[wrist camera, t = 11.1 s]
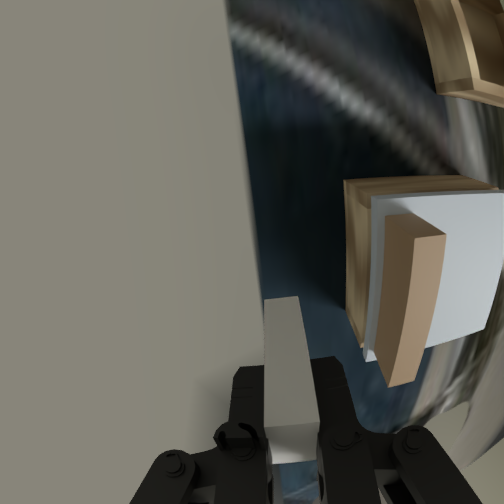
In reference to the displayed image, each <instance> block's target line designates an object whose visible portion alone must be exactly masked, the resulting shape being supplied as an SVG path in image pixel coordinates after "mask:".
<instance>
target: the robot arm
mask: <svg viewBox="0 0 504 504" xmlns="http://www.w3.org/2000/svg"><path fill="white" fill-rule="evenodd" d="M213 438H214V440H215V442H216V444H217V447H215V448H213V449H211V450H208V451H204V452H200V453H195V454H191V455H189V454H188V453H186V452H184V451H182V450H169V451H165V452H164V453H162V454H160V455H159V456H158V457H157V458H156V459H155V461H154V463H153V464H152V466H151V468H150V469H149V471H148V473H147V475H146V477H145V478H144V480H143V481H142V483H141V485H140V487H139V488H138V490H137V492H136V493H135V495H134V497H133V499H132V500H131V502H130V504H274V478H273V474H272V463H273V464H277V463H290V462H300V461H309V460H317V465H318V473H317V480H316V481H318V487H319V498H320V504H381V500H380V496H379V490H378V488H379V489H380V491H381V493H382V495H383V497H384V498H385V500H386V502H387V504H482V502H481V501H480V499H479V498H478V496H477V495H476V494H475V493H474V491H473V489H472V488H471V487H470V485H469V484H468V482H467V481H466V480H465V478H464V477H463V475H462V474H461V472H460V471H459V470H458V468H457V467H456V466H455V464H454V463H453V461H452V460H451V459H450V457H449V456H448V455H447V453H446V452H445V451H444V449H443V448H442V447H441V445H440V444H439V442H438V441H437V440H436V438H435V437H434V436H433V434H432V433H431V432H430V431H429V430H428V429H426V428H425V427H422V426H419V425H411V426H408V427H405V428H403V429H402V430H400V431H399V432H398V433H397V434H384V433H374V432H371V431H368V430H366V429H365V428H364V427H362V426H361V424H360V423H359V422H358V419H357V417H356V413H355V409H354V405H353V401H352V398H351V394H350V390H349V387H348V383H347V379H346V377H345V372H344V369H343V365H342V364H341V363H340V362H339V361H338V360H337V359H336V358H335V356H331V357H324V358H317V359H310V358H309V353H308V347H307V341H306V336H305V331H304V325H303V320H302V315H301V310H300V304H299V299H298V296H294V297H285V298H277V299H267V300H264V365H260V366H246V367H240V368H239V369H238V371H237V372H236V374H235V375H234V377H233V385H232V394H231V404H230V411H229V420H228V422H226V423H224V424H222V425H221V426H220V427H219V428H218V429H217V430H216V432H215V434H214V437H213Z"/></svg>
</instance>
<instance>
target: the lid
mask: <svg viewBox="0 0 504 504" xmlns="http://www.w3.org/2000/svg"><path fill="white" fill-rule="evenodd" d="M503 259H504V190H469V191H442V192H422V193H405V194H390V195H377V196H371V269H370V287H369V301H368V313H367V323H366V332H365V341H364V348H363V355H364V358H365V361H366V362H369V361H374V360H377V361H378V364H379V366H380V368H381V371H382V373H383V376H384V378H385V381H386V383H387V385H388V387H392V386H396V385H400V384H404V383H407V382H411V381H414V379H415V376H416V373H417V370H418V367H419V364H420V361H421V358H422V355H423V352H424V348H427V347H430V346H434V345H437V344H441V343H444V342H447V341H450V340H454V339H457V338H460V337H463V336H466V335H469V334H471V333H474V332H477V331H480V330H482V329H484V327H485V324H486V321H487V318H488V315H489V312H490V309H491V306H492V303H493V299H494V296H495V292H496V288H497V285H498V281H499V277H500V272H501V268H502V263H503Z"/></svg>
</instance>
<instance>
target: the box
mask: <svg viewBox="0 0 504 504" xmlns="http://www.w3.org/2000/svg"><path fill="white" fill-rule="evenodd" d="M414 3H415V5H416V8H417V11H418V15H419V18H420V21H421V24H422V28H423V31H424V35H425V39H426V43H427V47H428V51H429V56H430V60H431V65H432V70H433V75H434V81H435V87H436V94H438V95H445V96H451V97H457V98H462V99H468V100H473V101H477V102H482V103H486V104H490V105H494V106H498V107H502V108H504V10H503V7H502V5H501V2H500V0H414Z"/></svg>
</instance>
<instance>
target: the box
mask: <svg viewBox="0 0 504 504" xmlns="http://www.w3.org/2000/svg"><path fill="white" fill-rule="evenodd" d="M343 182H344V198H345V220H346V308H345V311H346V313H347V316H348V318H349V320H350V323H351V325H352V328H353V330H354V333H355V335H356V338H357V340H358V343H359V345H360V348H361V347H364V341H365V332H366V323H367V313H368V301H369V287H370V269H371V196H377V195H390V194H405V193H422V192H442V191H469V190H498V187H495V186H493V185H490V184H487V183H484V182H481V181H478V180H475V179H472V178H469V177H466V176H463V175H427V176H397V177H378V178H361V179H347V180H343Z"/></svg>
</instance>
